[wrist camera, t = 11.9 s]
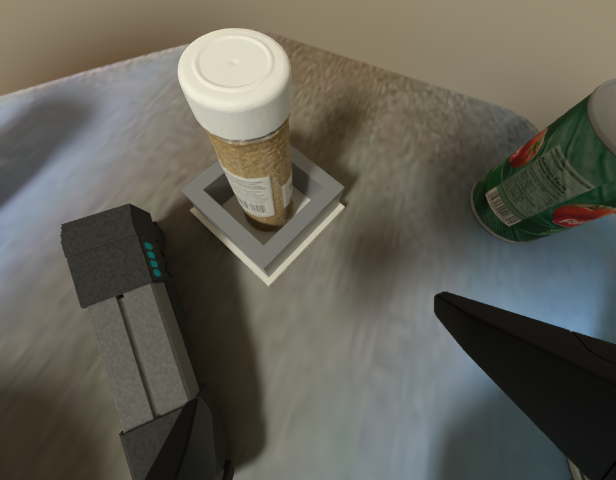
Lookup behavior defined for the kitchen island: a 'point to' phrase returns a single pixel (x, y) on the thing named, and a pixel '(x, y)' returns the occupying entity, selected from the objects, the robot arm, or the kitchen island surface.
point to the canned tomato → (554, 175)
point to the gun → (138, 330)
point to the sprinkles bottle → (245, 117)
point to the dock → (260, 244)
